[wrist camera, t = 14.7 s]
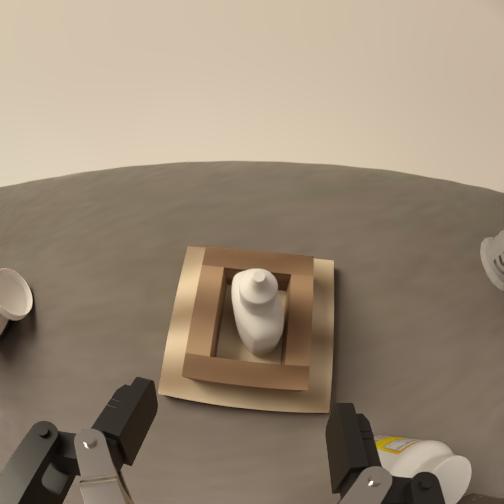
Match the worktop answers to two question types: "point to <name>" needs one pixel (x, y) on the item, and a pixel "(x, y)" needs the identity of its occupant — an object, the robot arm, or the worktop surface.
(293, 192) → the worktop surface
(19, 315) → the spread jar
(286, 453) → the worktop surface
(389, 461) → the supplement bottle
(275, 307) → the eye dropper bottle
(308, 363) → the birch holder
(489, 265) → the french press
